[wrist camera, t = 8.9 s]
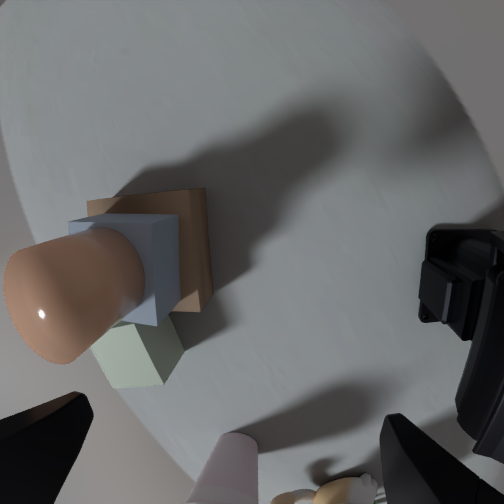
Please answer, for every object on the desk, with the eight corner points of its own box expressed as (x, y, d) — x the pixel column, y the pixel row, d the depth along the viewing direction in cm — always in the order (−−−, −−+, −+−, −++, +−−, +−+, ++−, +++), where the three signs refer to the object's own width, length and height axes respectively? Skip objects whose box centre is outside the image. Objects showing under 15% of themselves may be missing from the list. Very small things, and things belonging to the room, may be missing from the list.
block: (162, 297, 21) (133, 323, 17) (185, 350, 22) (164, 384, 18) (115, 309, 22) (84, 333, 18) (138, 357, 23) (113, 388, 19)
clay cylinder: (138, 223, 13) (66, 246, 8) (152, 318, 14) (97, 373, 9) (65, 230, 14) (-6, 251, 9) (81, 313, 15) (22, 354, 10)
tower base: (206, 187, 19) (188, 189, 16) (214, 291, 21) (200, 312, 18) (115, 197, 20) (86, 201, 17) (126, 290, 22) (102, 307, 19)
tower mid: (178, 214, 16) (151, 223, 13) (180, 300, 18) (157, 326, 14) (103, 213, 17) (68, 221, 14) (109, 291, 18) (78, 312, 15)
